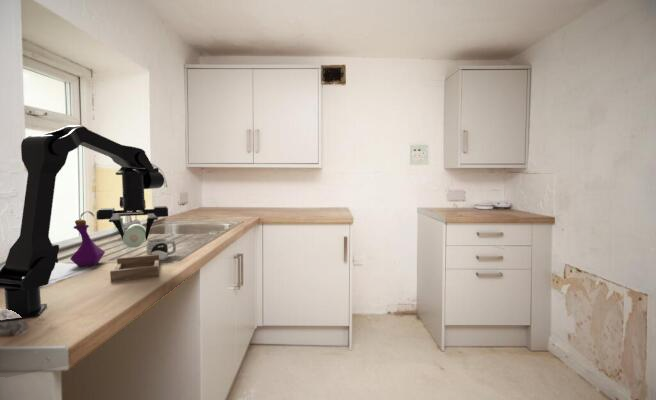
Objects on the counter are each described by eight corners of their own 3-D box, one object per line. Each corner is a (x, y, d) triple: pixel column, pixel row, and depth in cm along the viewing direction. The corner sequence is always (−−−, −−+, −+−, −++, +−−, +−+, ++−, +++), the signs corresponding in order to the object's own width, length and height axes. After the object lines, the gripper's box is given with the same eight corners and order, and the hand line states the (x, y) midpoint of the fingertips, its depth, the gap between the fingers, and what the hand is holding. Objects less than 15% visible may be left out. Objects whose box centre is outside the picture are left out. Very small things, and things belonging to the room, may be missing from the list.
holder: (158, 276, 100) (157, 266, 100) (110, 281, 95) (110, 271, 95) (159, 262, 115) (158, 254, 115) (117, 266, 110) (117, 257, 109)
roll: (145, 246, 101) (144, 228, 100) (123, 248, 99) (122, 229, 98) (146, 240, 110) (146, 223, 110) (126, 241, 108) (126, 224, 107)
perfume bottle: (70, 268, 107) (66, 212, 106) (80, 262, 115) (77, 210, 113) (97, 267, 109) (94, 212, 108) (105, 261, 117) (103, 209, 115)
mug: (152, 262, 116) (151, 243, 115) (143, 259, 120) (143, 240, 119) (180, 256, 123) (179, 238, 123) (171, 253, 128) (171, 236, 127)
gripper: (167, 188, 114) (168, 233, 115) (101, 189, 106) (103, 238, 107) (167, 189, 104) (169, 239, 105) (94, 191, 96) (97, 245, 97)
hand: (135, 240), depth 104 cm, fingers closed on roll, 6 cm apart
